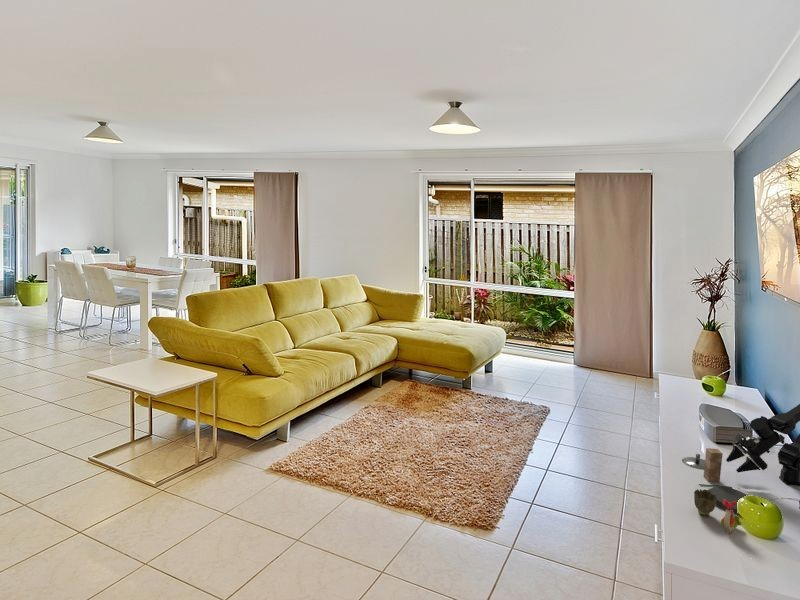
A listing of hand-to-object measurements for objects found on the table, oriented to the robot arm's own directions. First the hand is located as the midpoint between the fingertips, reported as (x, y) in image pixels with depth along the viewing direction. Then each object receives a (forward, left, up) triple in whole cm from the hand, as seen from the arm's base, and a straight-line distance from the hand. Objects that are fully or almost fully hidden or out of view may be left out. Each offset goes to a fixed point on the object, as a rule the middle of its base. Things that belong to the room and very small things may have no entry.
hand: (731, 466), depth 216 cm
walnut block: (+7, 0, -7) cm, 10 cm away
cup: (+20, +27, -8) cm, 35 cm away
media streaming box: (+6, +16, -8) cm, 19 cm away
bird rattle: (+15, +36, -8) cm, 40 cm away
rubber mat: (+7, 0, -7) cm, 10 cm away
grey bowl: (+7, -15, -7) cm, 18 cm away
